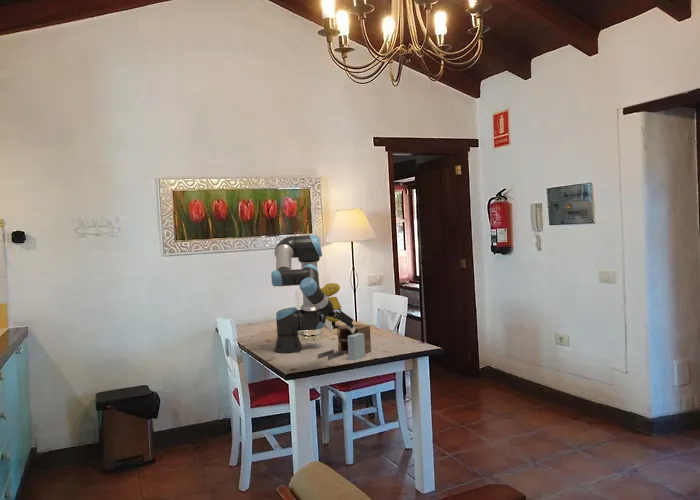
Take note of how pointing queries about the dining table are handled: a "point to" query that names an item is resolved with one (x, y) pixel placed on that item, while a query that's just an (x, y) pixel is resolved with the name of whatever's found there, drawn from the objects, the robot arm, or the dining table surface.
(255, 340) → the dining table surface
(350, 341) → the grey rectangular block
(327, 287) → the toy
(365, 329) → the cabinet
